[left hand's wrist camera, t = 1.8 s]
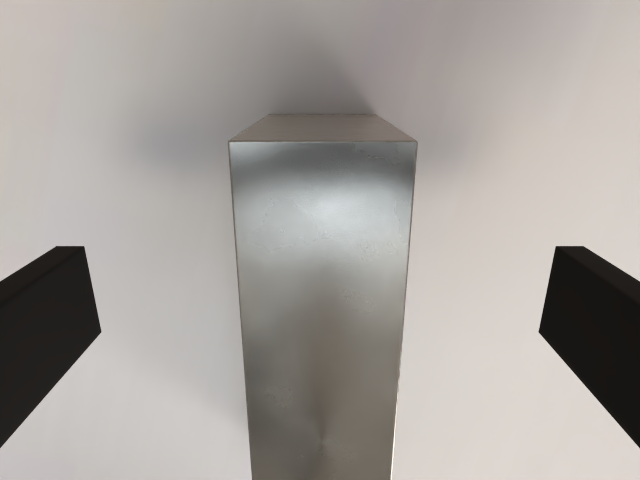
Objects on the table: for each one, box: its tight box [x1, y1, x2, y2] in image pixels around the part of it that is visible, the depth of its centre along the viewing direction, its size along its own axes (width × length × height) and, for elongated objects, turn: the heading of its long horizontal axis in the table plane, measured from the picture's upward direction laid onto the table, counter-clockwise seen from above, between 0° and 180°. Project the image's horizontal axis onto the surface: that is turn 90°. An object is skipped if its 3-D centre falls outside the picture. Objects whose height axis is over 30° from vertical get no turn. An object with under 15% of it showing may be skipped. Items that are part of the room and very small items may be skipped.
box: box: [228, 114, 418, 480], centre depth 24 cm, size 26×6×12 cm, turn 0°
